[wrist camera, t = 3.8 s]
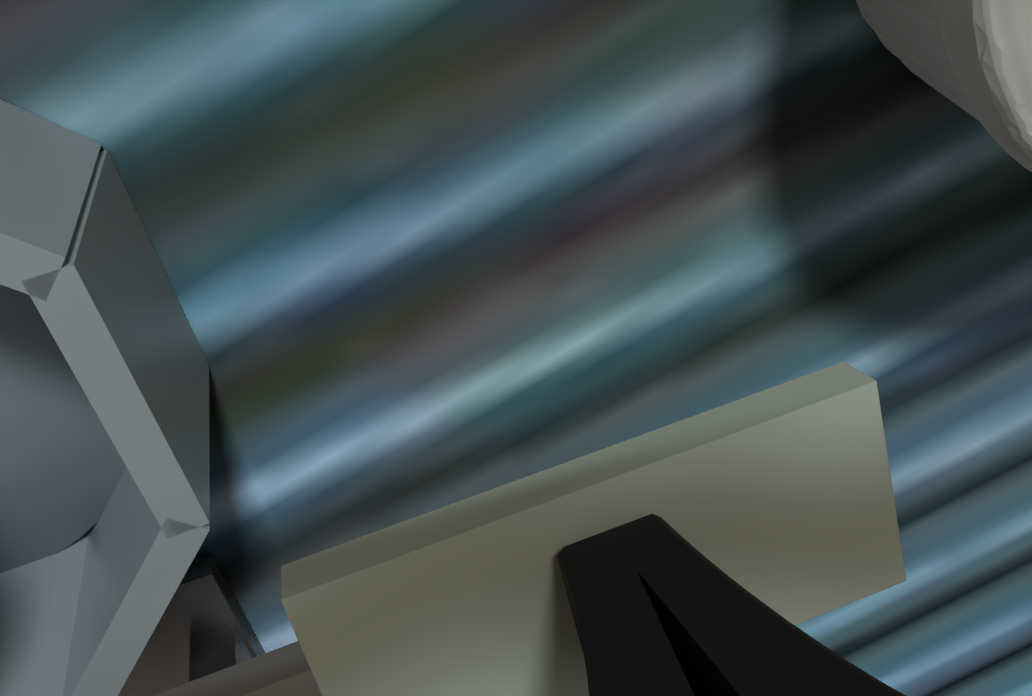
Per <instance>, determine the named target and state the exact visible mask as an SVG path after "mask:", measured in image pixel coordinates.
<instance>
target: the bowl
mask: <svg viewBox="0 0 1032 696" xmlns="http://www.w3.org/2000/svg"><path fill="white" fill-rule="evenodd" d="M100 147H101V144H100V143H97V142H95V141H93V140H91V139H88V138H86V137H84V136H82V135H79V134H77V133H75V132H73V131H70V130H68V129H66V128H64V127H61V126H59V125H57V124H55V123H52V122H50V121H48V120H46V119H43V118H41V117H39V116H37V115H34V114H32V113H30V112H28V111H25V110H23V109H21V108H19V107H16V106H14V105H12V104H9V103H7V102H5V101H3V100H0V696H118V694H119V693H120V691H121V689H122V687H123V685H124V684H125V682H126V680H127V678H128V676H129V675H130V673H131V671H132V669H133V667H134V666H135V664H136V662H137V660H138V658H139V657H140V655H141V653H142V651H143V649H144V648H145V646H146V644H147V642H148V640H149V639H150V637H151V635H152V633H153V631H154V630H155V628H156V626H157V624H158V622H159V621H160V619H161V617H162V615H163V613H164V612H165V610H166V608H167V606H168V604H169V602H170V601H171V599H172V597H173V595H174V593H175V592H176V590H177V588H178V586H179V584H180V583H181V581H182V579H183V577H184V575H185V574H186V572H187V570H188V568H189V566H190V565H191V563H192V561H193V559H194V557H195V556H196V554H197V552H198V550H199V548H200V547H201V545H202V543H203V541H204V539H205V538H206V536H207V534H208V532H209V530H210V452H209V364H208V362H207V360H206V358H205V356H204V354H203V352H202V350H201V347H200V345H199V343H198V341H197V339H196V337H195V335H194V333H193V331H192V328H191V326H190V324H189V322H188V320H187V318H186V316H185V314H184V311H183V309H182V307H181V305H180V303H179V301H178V299H177V297H176V295H175V292H174V290H173V288H172V286H171V284H170V282H169V280H168V278H167V275H166V273H165V271H164V269H163V267H162V265H161V263H160V261H159V258H158V256H157V254H156V252H155V250H154V248H153V246H152V244H151V242H150V239H149V237H148V235H147V233H146V231H145V229H144V227H143V225H142V222H141V220H140V218H139V216H138V214H137V212H136V210H135V208H134V206H133V203H132V201H131V199H130V197H129V195H128V193H127V191H126V189H125V186H124V184H123V182H122V180H121V178H120V176H119V174H118V172H117V169H116V167H115V165H114V163H113V161H112V159H111V157H110V155H109V153H108V150H105V151H102V152H99V150H100Z"/></svg>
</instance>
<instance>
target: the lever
mask: <svg viewBox="0 0 1032 696" xmlns="http://www.w3.org/2000/svg"><path fill="white" fill-rule="evenodd" d="M652 513H653V514H655V515H657V516H659V517H662V518H663V519H664V520H665V521H666V522H667V523H668V524H669V525H670V526H671V527H672V528H673V529H674V530H675V531H676V532H678V533H679V534H680V535H681V536H682V537H683V538H684V539H685V540H686V541H688V542H689V543H690V544H691V545H692V546H693V547H694V548H695V549H697V550H698V551H699V552H700V553H701V554H703V555H704V556H705V557H706V558H707V559H708V560H710V561H711V562H712V563H713V564H715V565H716V566H717V567H718V568H719V569H721V570H722V571H723V572H724V573H725V574H727V575H728V576H729V577H730V578H732V579H733V580H734V581H735V582H737V583H738V584H739V585H741V586H742V587H743V588H744V589H746V590H747V591H748V592H750V593H751V594H752V595H754V596H755V597H756V598H758V599H759V600H760V601H762V602H763V603H764V604H766V605H767V606H769V607H770V608H771V609H773V610H774V611H775V612H777V613H778V614H779V615H781V616H782V617H783V618H785V619H786V620H787V621H789V622H790V623H792V624H793V625H796V624H799V623H801V622H804V621H806V620H809V619H811V618H814V617H816V616H819V615H821V614H824V613H827V612H829V611H832V610H834V609H837V608H839V607H842V606H844V605H847V604H849V603H852V602H854V601H857V600H859V599H862V598H864V597H867V596H869V595H872V594H874V593H877V592H879V591H882V590H884V589H887V588H889V587H892V586H894V585H897V584H899V583H902V582H904V581H906V576H905V569H904V563H903V556H902V549H901V543H900V536H899V529H898V523H897V516H896V509H895V502H894V496H893V489H892V482H891V476H890V469H889V462H888V456H887V449H886V442H885V436H884V429H883V422H882V415H881V409H880V402H879V395H878V389H877V382H876V380H874V379H872V378H871V377H869V376H867V375H865V374H864V373H862V372H860V371H858V370H857V369H855V368H853V367H852V366H850V365H848V364H846V363H845V362H841V363H838V364H835V365H832V366H830V367H827V368H824V369H821V370H819V371H816V372H813V373H810V374H808V375H805V376H802V377H799V378H797V379H794V380H791V381H788V382H786V383H783V384H780V385H777V386H775V387H772V388H769V389H766V390H764V391H761V392H758V393H755V394H753V395H750V396H747V397H744V398H742V399H739V400H736V401H733V402H731V403H728V404H725V405H722V406H720V407H717V408H714V409H711V410H709V411H706V412H703V413H700V414H698V415H695V416H692V417H689V418H687V419H684V420H681V421H678V422H676V423H673V424H670V425H668V426H665V427H662V428H659V429H657V430H654V431H651V432H648V433H646V434H643V435H640V436H637V437H635V438H632V439H629V440H626V441H624V442H621V443H618V444H615V445H613V446H610V447H607V448H604V449H602V450H599V451H596V452H593V453H591V454H588V455H585V456H582V457H580V458H577V459H574V460H571V461H569V462H566V463H563V464H560V465H558V466H555V467H552V468H549V469H547V470H544V471H541V472H538V473H536V474H533V475H530V476H527V477H525V478H522V479H519V480H516V481H514V482H511V483H508V484H505V485H503V486H500V487H497V488H494V489H492V490H489V491H486V492H483V493H481V494H478V495H475V496H472V497H470V498H467V499H464V500H461V501H459V502H456V503H453V504H450V505H448V506H445V507H442V508H439V509H437V510H434V511H431V512H428V513H426V514H423V515H420V516H417V517H415V518H412V519H409V520H406V521H404V522H401V523H398V524H395V525H393V526H390V527H387V528H384V529H382V530H379V531H376V532H373V533H371V534H368V535H365V536H362V537H360V538H357V539H354V540H351V541H349V542H346V543H343V544H340V545H338V546H335V547H332V548H329V549H327V550H324V551H321V552H318V553H316V554H313V555H310V556H307V557H305V558H302V559H299V560H296V561H294V562H291V563H288V564H285V565H283V566H281V602H282V604H283V606H284V609H285V611H286V613H287V616H288V618H289V620H290V622H291V625H292V627H293V629H294V632H295V634H296V636H297V639H298V642H295V643H292V644H290V645H287V646H284V647H281V648H279V649H276V650H273V651H271V652H268V653H265V654H263V655H260V656H257V657H255V658H252V659H249V660H247V661H244V662H241V663H239V664H236V665H233V666H231V667H228V668H225V669H223V670H220V671H217V672H215V673H212V674H209V675H207V676H204V677H201V678H199V679H196V680H193V681H191V682H188V683H185V684H183V685H180V686H177V687H175V688H172V689H169V690H167V691H164V692H161V693H159V694H156V695H153V696H589V688H588V680H587V673H586V665H585V658H584V653H583V651H582V647H581V644H580V640H579V636H578V633H577V629H576V625H575V622H574V618H573V614H572V611H571V607H570V603H569V600H568V596H567V592H566V589H565V585H564V581H563V577H562V574H561V570H560V566H559V563H558V559H557V555H558V554H559V553H560V551H561V550H562V548H563V547H564V546H567V545H570V544H572V543H575V542H578V541H580V540H583V539H586V538H588V537H591V536H594V535H596V534H599V533H602V532H604V531H607V530H610V529H612V528H615V527H618V526H620V525H623V524H626V523H628V522H631V521H634V520H636V519H639V518H642V517H644V516H647V515H650V514H652Z"/></svg>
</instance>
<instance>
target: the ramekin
mask: <svg viewBox="0 0 1032 696" xmlns="http://www.w3.org/2000/svg"><path fill="white" fill-rule="evenodd" d="M856 2H857V4H858V7H859V10H860V12H861V14H862V17H863V18H864V20H865V21H866V22H867V24H868V25H869V26H870V27H871V28H872V29H874V31H875V32H876V34H877V36H878V38H879V39H880V41H881V42H882V44H883V45H884V46H885V47H886V48H887V49H888V50H889V51H890V52H891V53H892V54H893V55H895V56H896V57H898V58H899V59H900V60H901V61H902V63H903V64H904V65H905V66H906V67H907V68H908V69H909V70H910V71H911V72H912V73H914V74H915V75H916V76H918V77H919V78H920V79H922V80H923V81H924V82H926V83H927V84H929V85H930V86H931V87H933V88H934V89H935V90H937V91H938V92H940V93H941V94H942V95H944V96H945V97H946V98H948V99H949V100H951V101H952V102H953V103H955V104H956V105H957V106H959V107H960V108H962V109H963V110H964V111H966V112H967V113H968V114H970V115H971V116H973V117H974V118H976V119H977V120H979V121H980V123H981V124H982V125H983V127H984V128H985V129H986V131H987V132H988V133H989V134H990V136H991V137H992V138H993V139H994V140H995V141H996V142H997V143H998V144H999V145H1000V146H1001V147H1002V148H1003V149H1004V150H1005V151H1006V152H1007V153H1008V154H1009V155H1010V156H1011V157H1012V158H1014V159H1015V160H1016V161H1017V162H1018V163H1020V164H1021V165H1022V166H1023V167H1024V168H1026V169H1027V170H1029V171H1031V172H1032V0H856Z"/></svg>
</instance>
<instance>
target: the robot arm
mask: <svg viewBox="0 0 1032 696" xmlns="http://www.w3.org/2000/svg"><path fill="white" fill-rule="evenodd" d="M557 559H558V563H559V566H560V570H561V574H562V577H563V581H564V585H565V589H566V592H567V596H568V600H569V603H570V607H571V611H572V614H573V618H574V622H575V625H576V629H577V633H578V636H579V640H580V644H581V647H582V651H583V653H584V658H585V665H586V673H587V680H588V688H589V696H905V695H904V694H902V693H900V692H898V691H897V690H895V689H893V688H891V687H889V686H888V685H886V684H884V683H883V682H881V681H879V680H878V679H876V678H874V677H873V676H871V675H869V674H868V673H866V672H864V671H863V670H861V669H860V668H858V667H856V666H855V665H853V664H852V663H850V662H848V661H847V660H845V659H844V658H842V657H841V656H839V655H838V654H836V653H835V652H833V651H832V650H830V649H829V648H827V647H826V646H824V645H822V644H821V643H819V642H818V641H816V640H815V639H813V638H812V637H810V636H809V635H808V634H806V633H805V632H803V631H802V630H800V629H799V628H797V627H796V626H795V625H793V624H792V623H790V622H789V621H787V620H786V619H785V618H783V617H782V616H781V615H779V614H778V613H777V612H775V611H774V610H773V609H771V608H770V607H769V606H767V605H766V604H764V603H763V602H762V601H760V600H759V599H758V598H756V597H755V596H754V595H752V594H751V593H750V592H748V591H747V590H746V589H744V588H743V587H742V586H741V585H739V584H738V583H737V582H735V581H734V580H733V579H732V578H730V577H729V576H728V575H727V574H725V573H724V572H723V571H722V570H721V569H719V568H718V567H717V566H716V565H715V564H713V563H712V562H711V561H710V560H708V559H707V558H706V557H705V556H704V555H703V554H701V553H700V552H699V551H698V550H697V549H695V548H694V547H693V546H692V545H691V544H690V543H689V542H688V541H686V540H685V539H684V538H683V537H682V536H681V535H680V534H679V533H678V532H676V531H675V530H674V529H673V528H672V527H671V526H670V525H669V524H668V523H667V522H666V521H665V520H664V519H663V518H662V517H659V516H657V515H655V514H653V513H652V514H650V515H647V516H644V517H642V518H639V519H636V520H634V521H631V522H628V523H626V524H623V525H620V526H618V527H615V528H612V529H610V530H607V531H604V532H602V533H599V534H596V535H594V536H591V537H588V538H586V539H583V540H580V541H578V542H575V543H572V544H570V545H567V546H564V547H563V548H562V550H561V551H560V553H559V554H558V555H557Z"/></svg>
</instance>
